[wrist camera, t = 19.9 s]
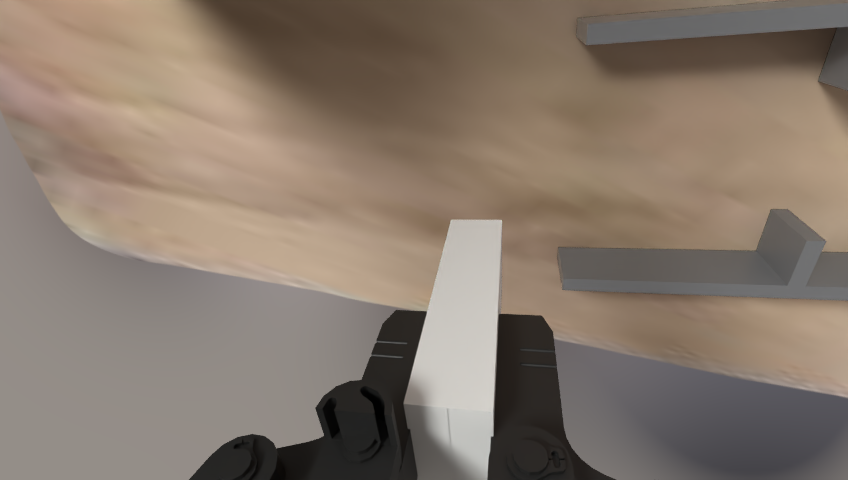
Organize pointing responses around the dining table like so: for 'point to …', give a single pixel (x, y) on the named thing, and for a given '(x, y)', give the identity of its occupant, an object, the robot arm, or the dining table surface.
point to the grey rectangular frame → (784, 232)
